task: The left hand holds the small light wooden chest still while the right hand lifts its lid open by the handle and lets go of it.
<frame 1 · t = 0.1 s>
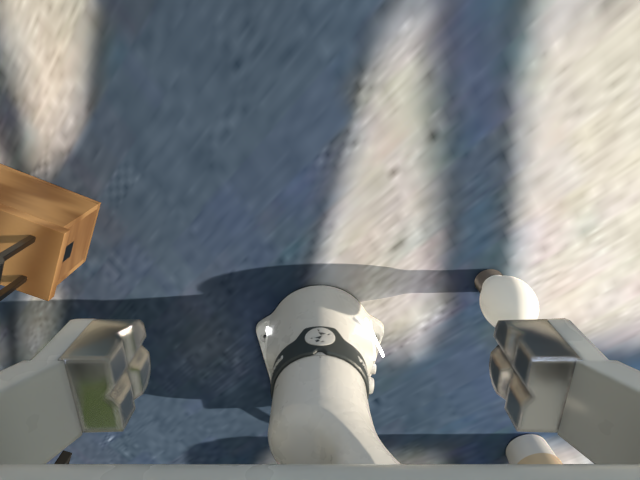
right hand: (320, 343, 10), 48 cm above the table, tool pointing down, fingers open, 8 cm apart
light bulb: (489, 279, 63), on the table
coffee cup: (525, 448, 75), on the table
chest: (34, 210, 60), on the table
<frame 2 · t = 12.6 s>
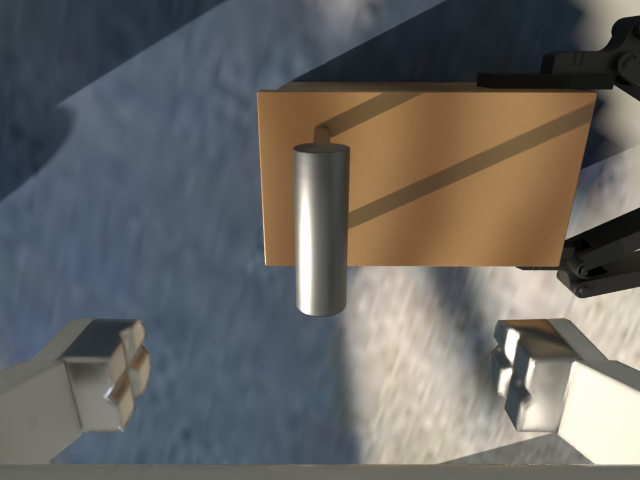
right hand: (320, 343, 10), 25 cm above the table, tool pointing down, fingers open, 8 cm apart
chest: (395, 148, 33), on the table, touching left hand
lid: (433, 204, 20), point 14 cm above the table, hinge at 0.0°
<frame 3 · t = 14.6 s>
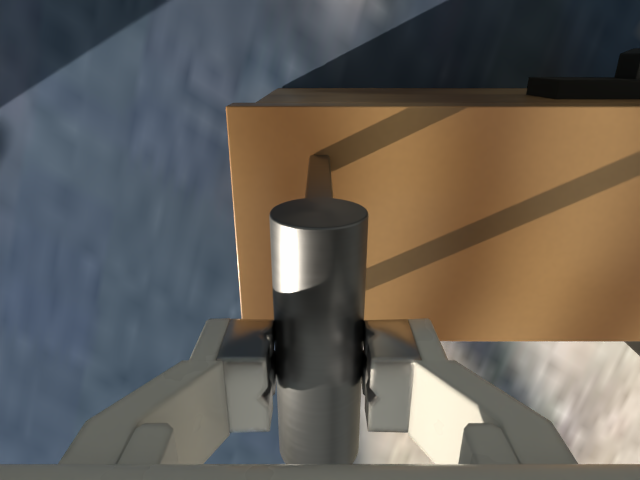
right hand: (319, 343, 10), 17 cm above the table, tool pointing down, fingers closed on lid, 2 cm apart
chest: (412, 171, 26), on the table, touching left hand
lid: (486, 275, 14), point 14 cm above the table, hinge at 0.0°, touching right hand
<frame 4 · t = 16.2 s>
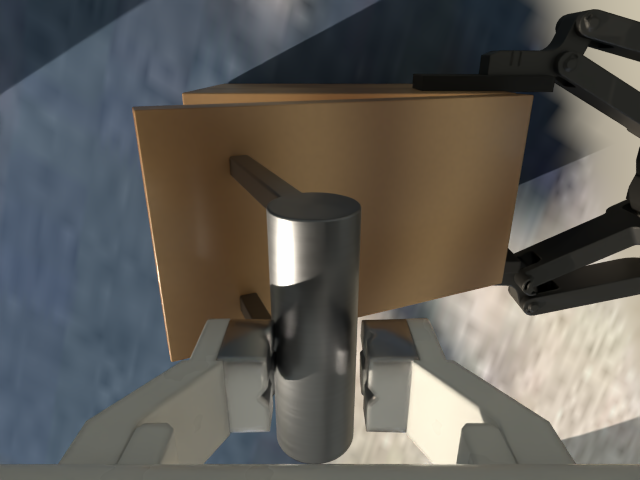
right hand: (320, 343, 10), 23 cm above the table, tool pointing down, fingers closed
chest: (340, 154, 31), on the table, touching left hand
lid: (410, 247, 16), point 17 cm above the table, hinge at 23.9°, touching right hand
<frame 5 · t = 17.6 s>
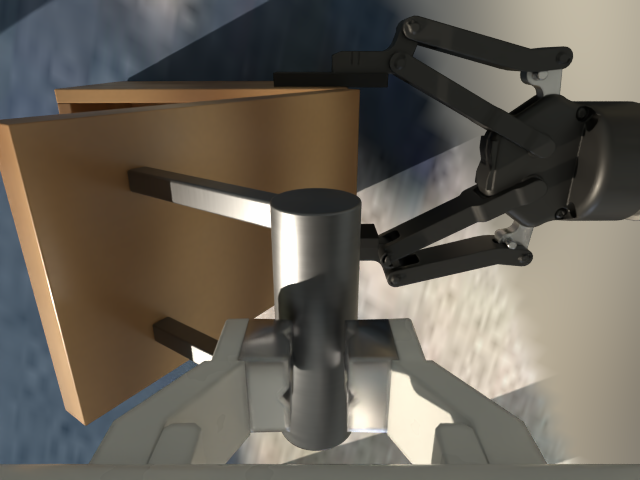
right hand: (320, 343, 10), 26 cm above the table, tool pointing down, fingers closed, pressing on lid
left hand: (278, 163, 28), fingers closed on chest, 9 cm apart
chest: (235, 145, 34), on the table, touching left hand
lid: (319, 233, 17), point 19 cm above the table, hinge at 53.4°, touching right hand
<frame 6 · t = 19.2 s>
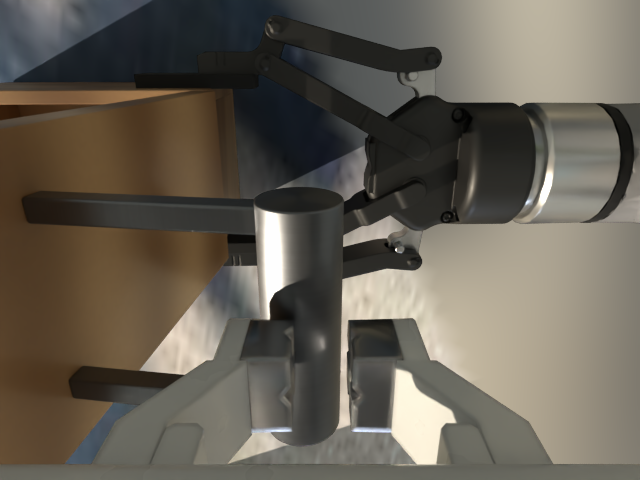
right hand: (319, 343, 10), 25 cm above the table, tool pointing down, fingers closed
left hand: (155, 166, 28), fingers closed on chest, 9 cm apart
chest: (131, 147, 34), on the table, touching left hand
lid: (232, 238, 16), point 19 cm above the table, hinge at 80.1°, touching right hand
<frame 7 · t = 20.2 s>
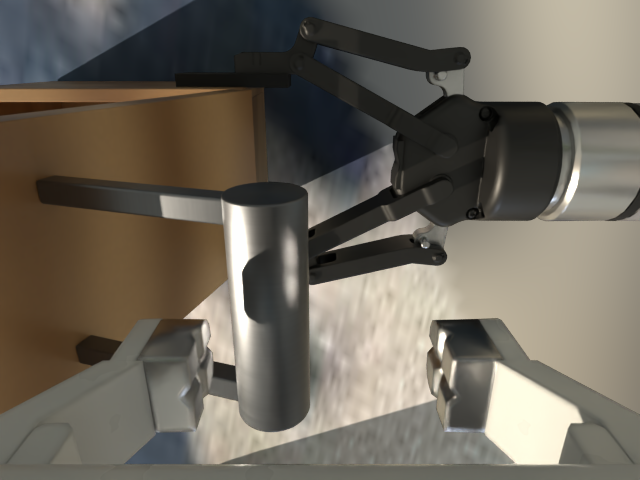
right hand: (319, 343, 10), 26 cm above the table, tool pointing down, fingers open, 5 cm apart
left hand: (191, 161, 29), fingers closed on chest, 9 cm apart
chest: (166, 144, 35), on the table, touching left hand
lid: (240, 230, 17), point 19 cm above the table, hinge at 72.3°
when the left hand's fingers open (6 cm above the table, at t = 23.3 s): chest stays where it is, on the table.
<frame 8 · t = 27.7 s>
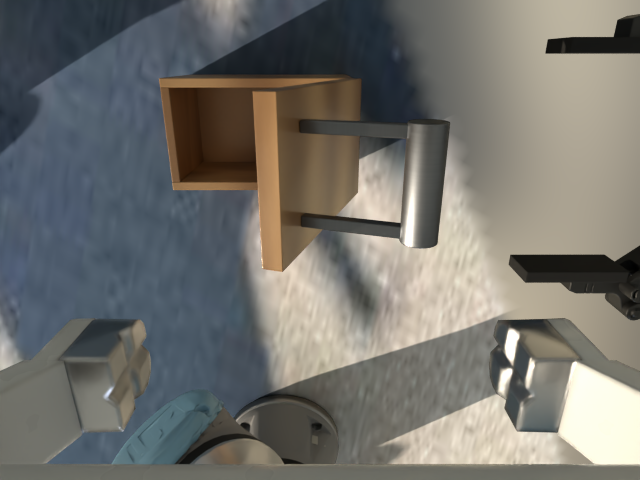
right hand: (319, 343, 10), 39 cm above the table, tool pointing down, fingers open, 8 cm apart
chest: (270, 122, 46), on the table
lid: (377, 160, 29), point 19 cm above the table, hinge at 71.2°
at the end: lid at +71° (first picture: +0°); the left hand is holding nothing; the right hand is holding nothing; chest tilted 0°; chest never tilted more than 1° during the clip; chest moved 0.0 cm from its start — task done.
